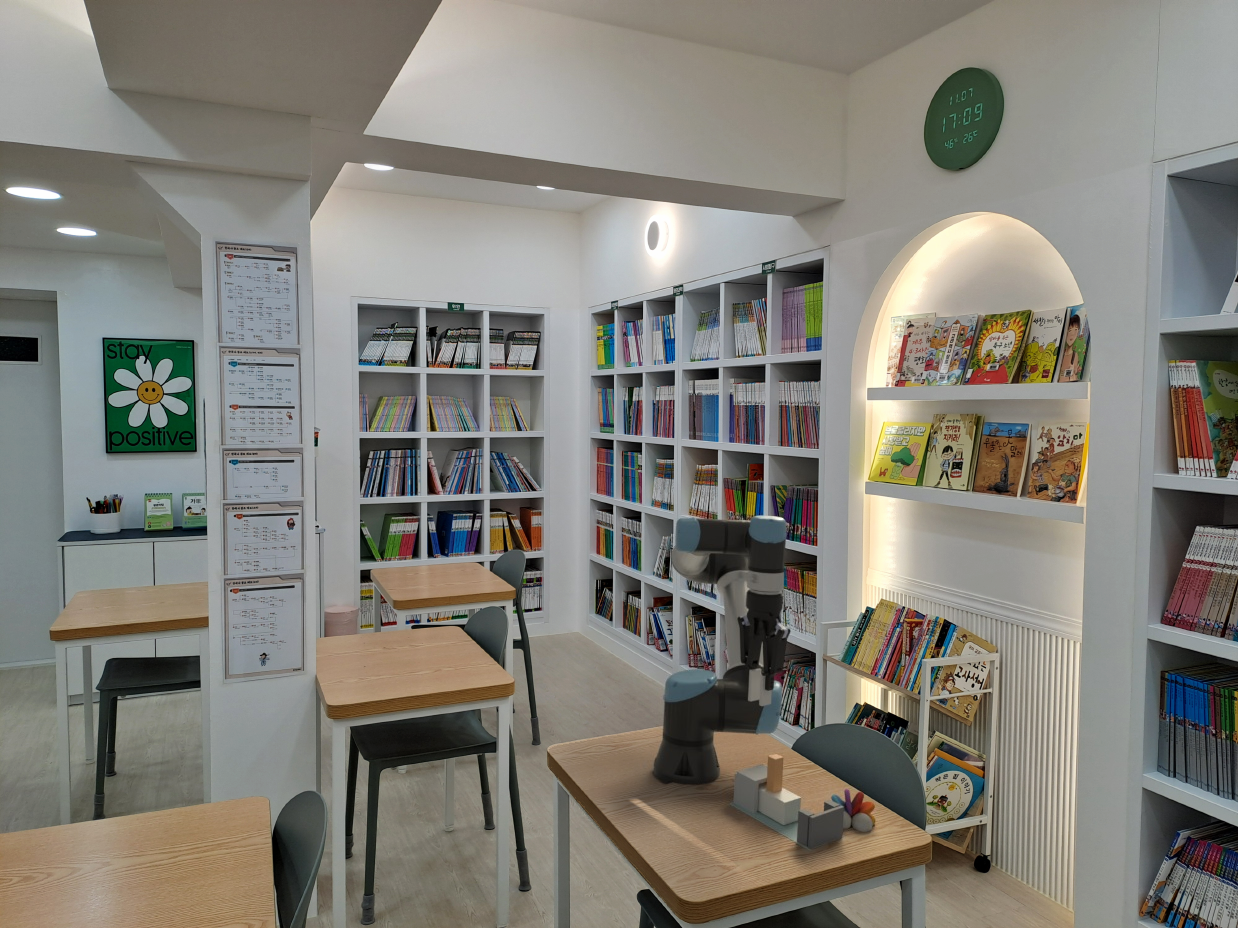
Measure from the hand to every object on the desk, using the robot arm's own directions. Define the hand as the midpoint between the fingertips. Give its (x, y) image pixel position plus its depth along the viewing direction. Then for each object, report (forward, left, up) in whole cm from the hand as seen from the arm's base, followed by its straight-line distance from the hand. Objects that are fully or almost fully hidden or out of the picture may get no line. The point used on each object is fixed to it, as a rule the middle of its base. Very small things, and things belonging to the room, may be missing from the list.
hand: (759, 701), depth 173 cm
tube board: (+9, 0, -23) cm, 24 cm away
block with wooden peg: (+5, 0, -22) cm, 22 cm away
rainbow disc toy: (+16, +11, -23) cm, 30 cm away
